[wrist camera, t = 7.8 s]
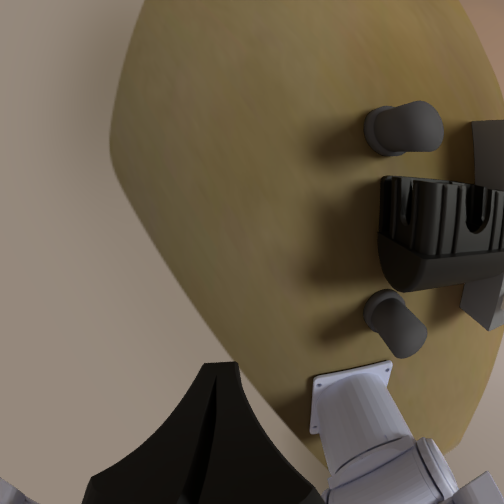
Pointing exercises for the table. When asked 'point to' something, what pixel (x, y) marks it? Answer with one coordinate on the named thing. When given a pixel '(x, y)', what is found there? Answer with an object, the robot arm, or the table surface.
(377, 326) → the dark grey cylinder
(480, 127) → the breaker strip
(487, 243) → the end cap
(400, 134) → the gray rounded knob
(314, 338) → the table surface
